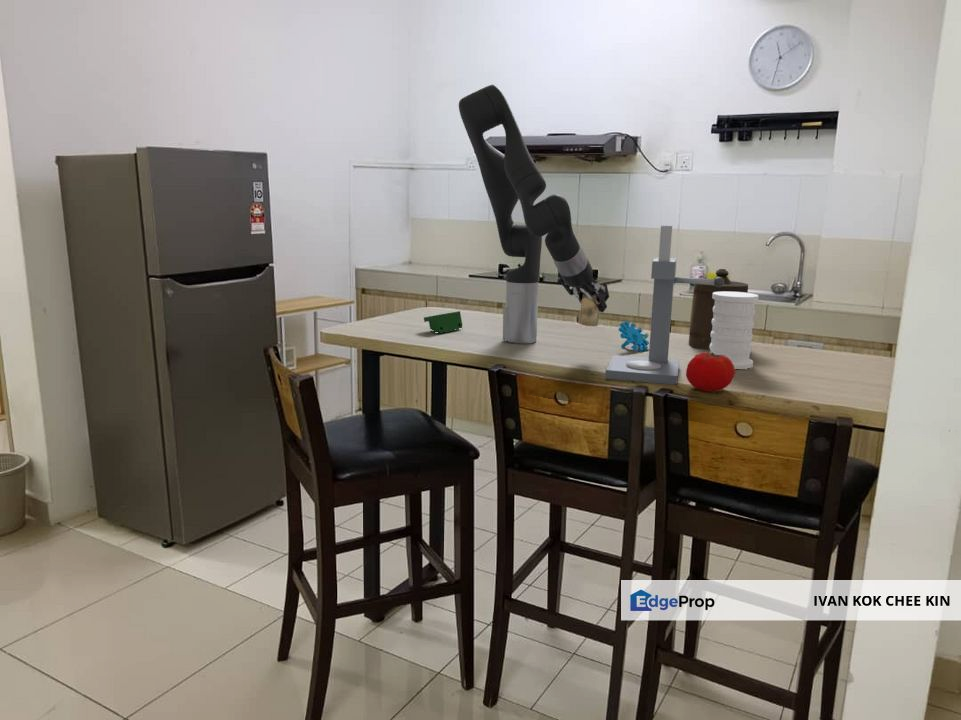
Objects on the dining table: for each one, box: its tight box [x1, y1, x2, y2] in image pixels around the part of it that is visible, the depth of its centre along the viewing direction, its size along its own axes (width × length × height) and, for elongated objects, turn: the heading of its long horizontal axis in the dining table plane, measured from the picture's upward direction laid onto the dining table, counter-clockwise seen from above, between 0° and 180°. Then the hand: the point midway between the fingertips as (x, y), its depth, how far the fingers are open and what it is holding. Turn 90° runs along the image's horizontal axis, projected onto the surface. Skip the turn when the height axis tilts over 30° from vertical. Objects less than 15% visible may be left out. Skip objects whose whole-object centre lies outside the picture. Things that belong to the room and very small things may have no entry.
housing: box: [577, 290, 601, 327], centre depth 186 cm, size 5×5×10 cm
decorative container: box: [709, 291, 759, 370], centre depth 183 cm, size 12×12×18 cm
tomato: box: [685, 351, 736, 393], centre depth 159 cm, size 9×10×8 cm
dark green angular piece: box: [423, 310, 463, 334], centre depth 223 cm, size 12×6×9 cm, turn 136°
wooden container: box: [688, 268, 749, 351], centre depth 206 cm, size 15×15×22 cm
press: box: [604, 224, 724, 385], centre depth 169 cm, size 25×17×35 cm
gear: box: [618, 320, 650, 352], centre depth 202 cm, size 11×6×10 cm
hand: (594, 306), depth 188 cm, fingers closed on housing, 5 cm apart
